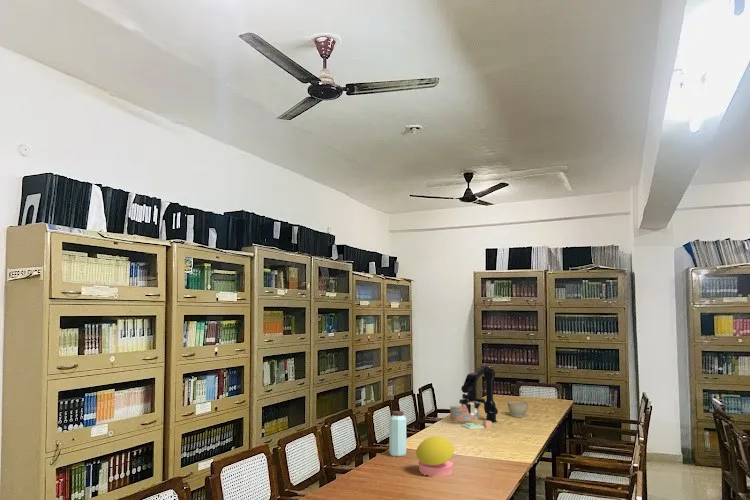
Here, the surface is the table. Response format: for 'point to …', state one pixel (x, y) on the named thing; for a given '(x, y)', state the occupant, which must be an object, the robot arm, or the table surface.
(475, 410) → the cream brick
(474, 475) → the table surface
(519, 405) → the planter bowl
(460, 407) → the stack of blocks
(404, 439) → the water bottle
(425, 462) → the yellow egg on stand
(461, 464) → the table surface
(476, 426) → the baseplate
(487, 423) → the salmon pink cube
